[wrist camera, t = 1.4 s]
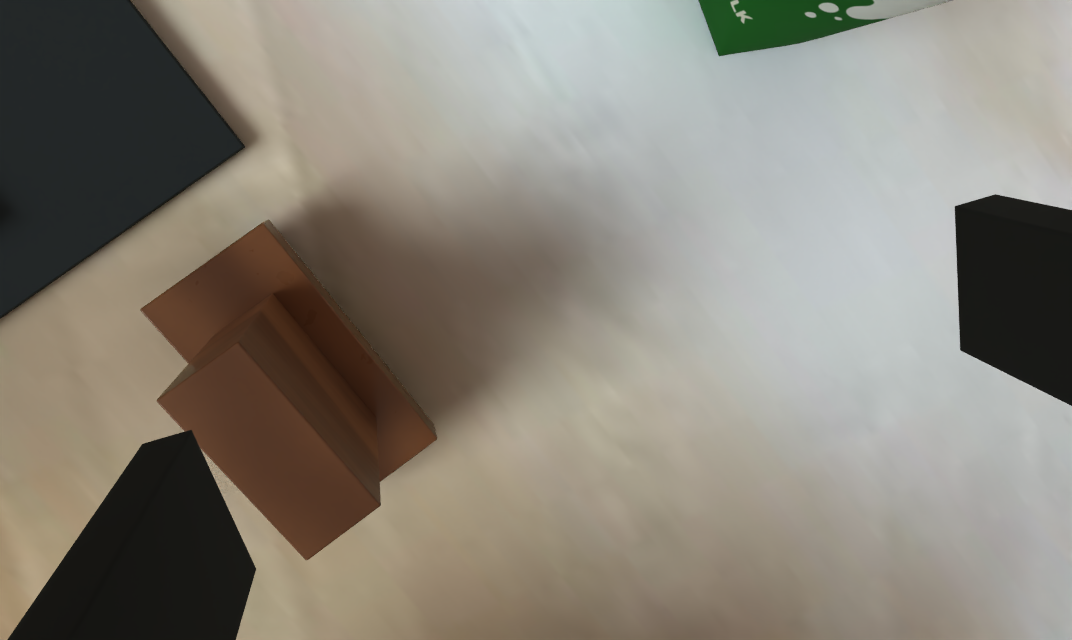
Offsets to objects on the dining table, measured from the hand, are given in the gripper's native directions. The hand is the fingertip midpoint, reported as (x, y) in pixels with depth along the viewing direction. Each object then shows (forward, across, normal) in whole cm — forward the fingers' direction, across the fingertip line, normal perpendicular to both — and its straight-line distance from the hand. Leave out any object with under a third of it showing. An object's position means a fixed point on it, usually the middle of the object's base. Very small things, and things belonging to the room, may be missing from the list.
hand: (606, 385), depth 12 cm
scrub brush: (+23, +10, +6) cm, 25 cm away
